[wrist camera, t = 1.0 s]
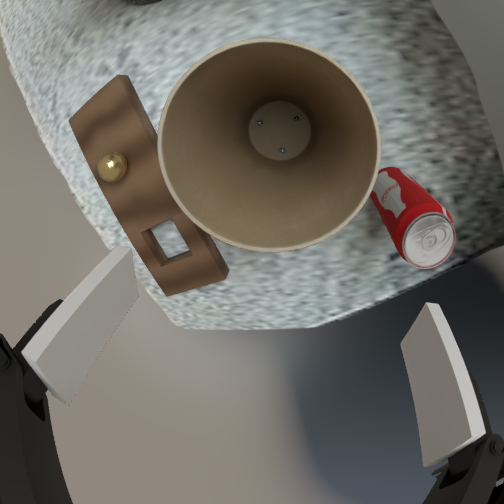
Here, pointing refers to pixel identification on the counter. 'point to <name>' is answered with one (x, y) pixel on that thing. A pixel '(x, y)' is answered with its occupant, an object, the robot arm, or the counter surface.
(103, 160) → the brass ball
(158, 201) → the board
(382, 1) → the counter surface
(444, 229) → the beverage can
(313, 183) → the plant pot
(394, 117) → the counter surface
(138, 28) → the counter surface
